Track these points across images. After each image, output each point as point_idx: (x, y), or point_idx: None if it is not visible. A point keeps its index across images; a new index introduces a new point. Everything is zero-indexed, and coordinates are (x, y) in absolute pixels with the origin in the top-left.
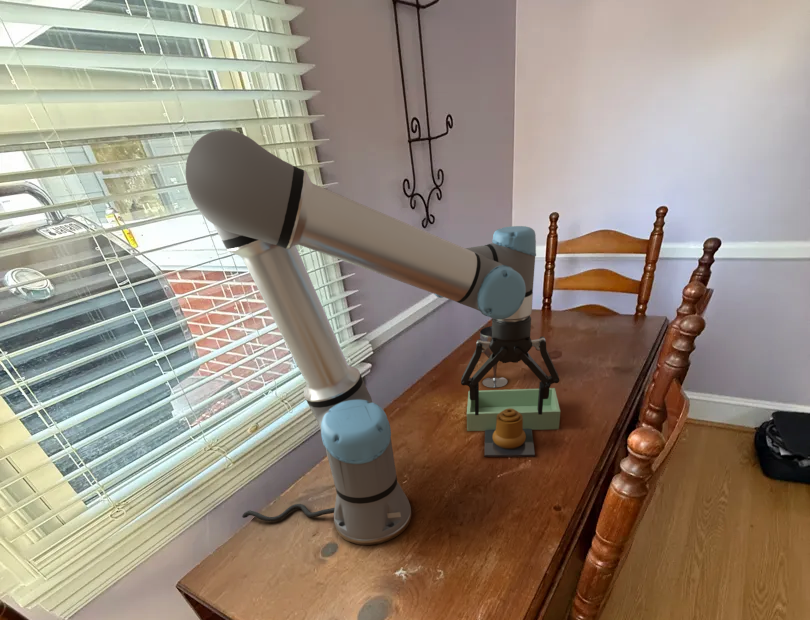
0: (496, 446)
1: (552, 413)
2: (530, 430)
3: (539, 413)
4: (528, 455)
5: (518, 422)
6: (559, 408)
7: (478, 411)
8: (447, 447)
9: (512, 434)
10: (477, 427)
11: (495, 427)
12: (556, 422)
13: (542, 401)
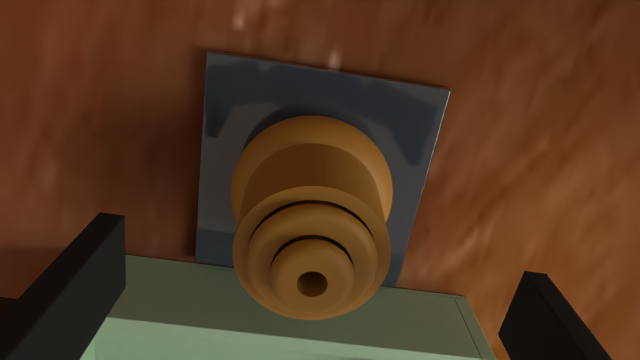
0: None
1: None
2: (201, 249)
3: (114, 218)
4: (239, 54)
5: (267, 195)
6: None
7: (537, 289)
8: (586, 194)
9: (307, 154)
10: (427, 301)
11: None
12: None
13: (47, 275)
